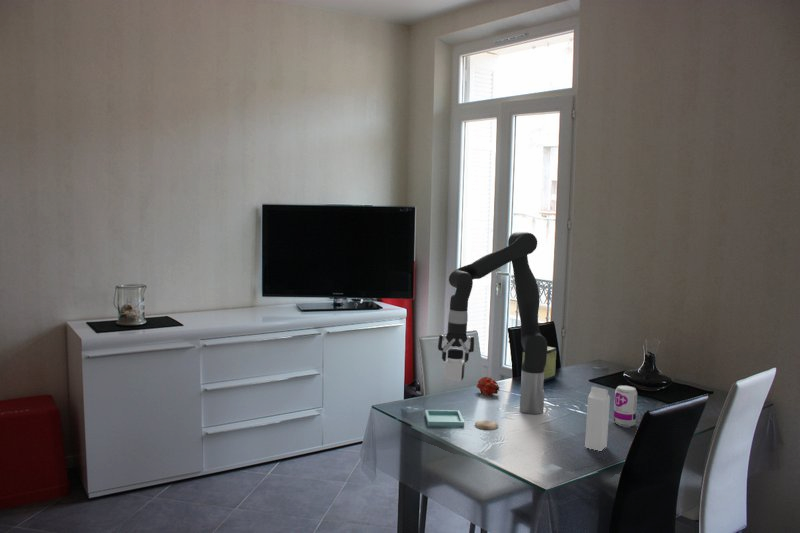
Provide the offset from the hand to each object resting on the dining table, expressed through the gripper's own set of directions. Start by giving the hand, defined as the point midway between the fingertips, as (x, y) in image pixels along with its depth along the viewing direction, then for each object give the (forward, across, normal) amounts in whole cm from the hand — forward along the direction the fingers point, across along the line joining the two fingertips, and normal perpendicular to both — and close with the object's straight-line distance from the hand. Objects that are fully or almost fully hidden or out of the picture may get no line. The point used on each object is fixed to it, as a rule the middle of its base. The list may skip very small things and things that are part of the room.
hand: (454, 361), depth 263 cm
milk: (+22, -50, +29) cm, 61 cm away
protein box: (+22, -49, -60) cm, 81 cm away
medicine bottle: (+7, 0, 0) cm, 7 cm away
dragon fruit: (+23, -20, -33) cm, 45 cm away
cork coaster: (+23, -13, +8) cm, 28 cm away
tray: (+23, +3, +4) cm, 24 cm away
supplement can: (+21, -69, +3) cm, 72 cm away
